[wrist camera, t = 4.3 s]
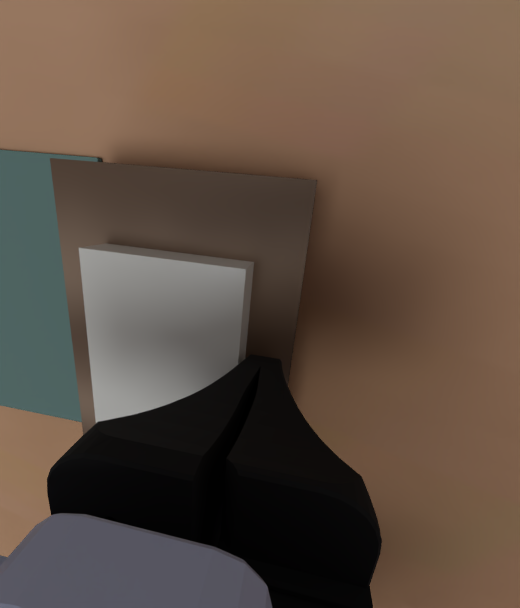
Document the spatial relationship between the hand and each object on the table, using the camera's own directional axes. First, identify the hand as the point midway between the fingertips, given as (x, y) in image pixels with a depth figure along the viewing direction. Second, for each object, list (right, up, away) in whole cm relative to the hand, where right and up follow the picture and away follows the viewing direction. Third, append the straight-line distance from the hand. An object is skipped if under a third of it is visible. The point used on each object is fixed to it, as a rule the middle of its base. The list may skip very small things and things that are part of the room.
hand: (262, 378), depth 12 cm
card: (-4, +1, +1) cm, 4 cm away
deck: (-3, +2, +4) cm, 6 cm away
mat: (-13, +3, +6) cm, 15 cm away
